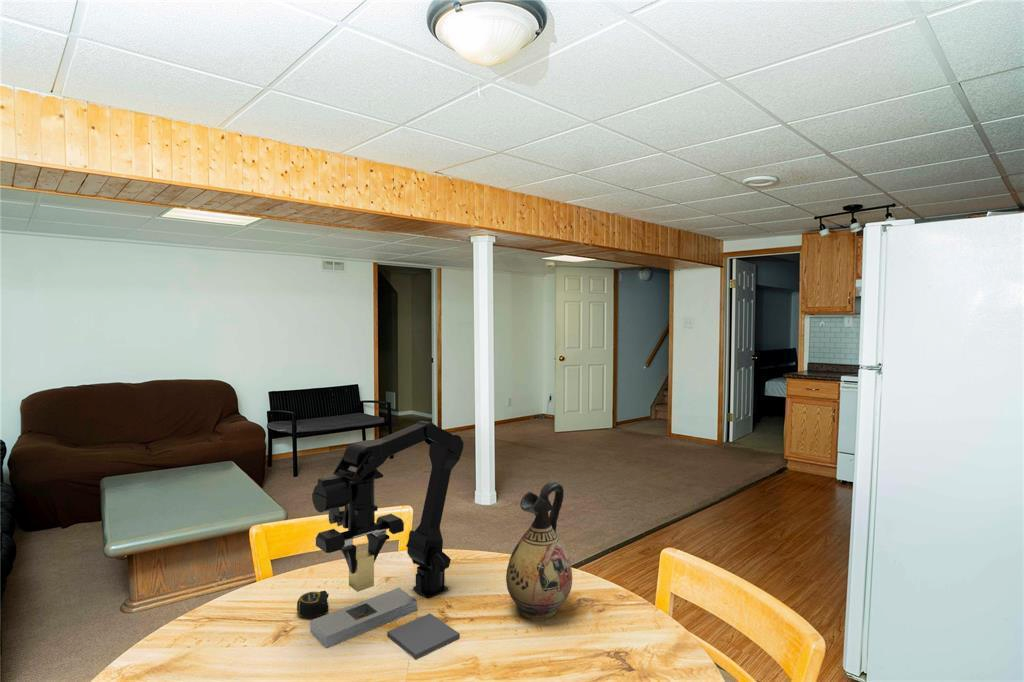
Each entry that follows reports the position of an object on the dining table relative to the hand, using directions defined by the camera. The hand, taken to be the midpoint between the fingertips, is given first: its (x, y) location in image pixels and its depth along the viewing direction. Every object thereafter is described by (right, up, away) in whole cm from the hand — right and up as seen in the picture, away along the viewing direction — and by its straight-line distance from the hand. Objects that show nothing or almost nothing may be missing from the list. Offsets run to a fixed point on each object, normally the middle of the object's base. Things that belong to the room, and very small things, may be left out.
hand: (361, 570), depth 123 cm
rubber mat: (+15, -12, -5) cm, 20 cm away
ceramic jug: (+40, -12, +7) cm, 43 cm away
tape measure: (-12, -12, +5) cm, 18 cm away
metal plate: (+1, -12, +1) cm, 12 cm away
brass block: (0, -4, 0) cm, 4 cm away
